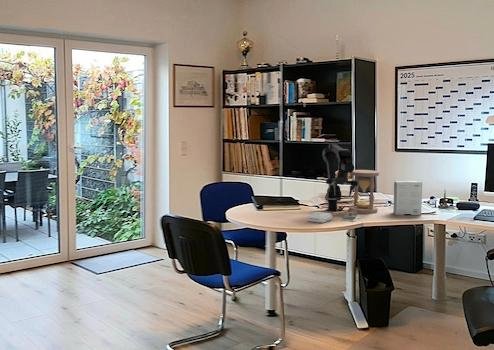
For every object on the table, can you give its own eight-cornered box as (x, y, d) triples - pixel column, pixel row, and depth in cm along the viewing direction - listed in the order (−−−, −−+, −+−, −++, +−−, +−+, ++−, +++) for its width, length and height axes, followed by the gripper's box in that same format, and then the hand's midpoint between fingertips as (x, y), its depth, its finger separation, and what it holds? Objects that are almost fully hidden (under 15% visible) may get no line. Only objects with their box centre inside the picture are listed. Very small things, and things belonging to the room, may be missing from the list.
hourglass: (383, 212, 325) (384, 172, 322) (359, 214, 319) (360, 173, 316) (366, 207, 342) (368, 169, 339) (343, 209, 335) (344, 170, 332)
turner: (349, 214, 317) (349, 209, 316) (359, 215, 314) (359, 210, 314) (343, 219, 303) (343, 213, 303) (353, 220, 301) (353, 214, 300)
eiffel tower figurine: (438, 210, 336) (439, 190, 334) (429, 207, 346) (430, 187, 344) (459, 209, 339) (460, 189, 338) (450, 207, 349) (451, 187, 347)
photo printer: (332, 213, 301) (322, 216, 291) (332, 220, 301) (322, 224, 291) (316, 211, 306) (305, 214, 296) (315, 218, 307) (305, 221, 297)
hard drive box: (418, 213, 325) (420, 180, 323) (421, 215, 317) (422, 182, 315) (392, 212, 327) (394, 180, 324) (394, 214, 319) (396, 182, 317)
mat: (348, 214, 318) (348, 214, 318) (362, 215, 315) (362, 215, 315) (340, 220, 302) (340, 219, 302) (354, 221, 299) (354, 220, 299)
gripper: (324, 171, 310) (323, 197, 312) (355, 173, 302) (354, 200, 305) (329, 168, 320) (328, 194, 322) (359, 170, 312) (358, 196, 315)
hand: (342, 196), depth 316 cm, fingers open, 9 cm apart
